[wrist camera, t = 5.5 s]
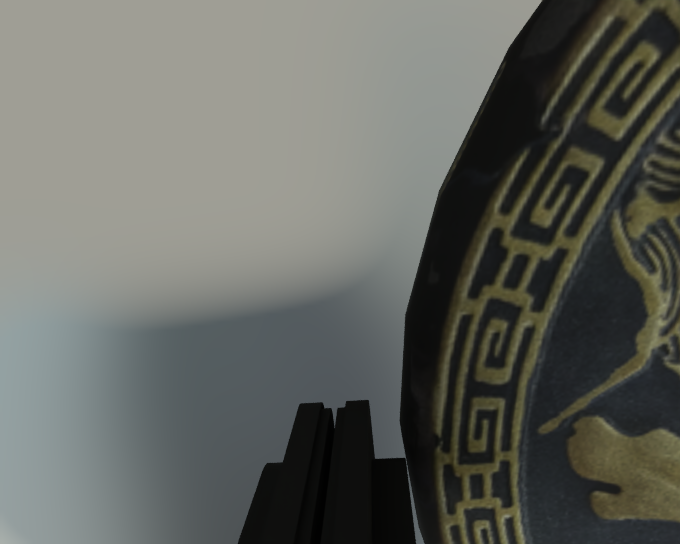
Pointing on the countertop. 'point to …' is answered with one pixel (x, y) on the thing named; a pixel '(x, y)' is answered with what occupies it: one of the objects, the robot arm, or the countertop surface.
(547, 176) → the decorative plate
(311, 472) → the robot arm
